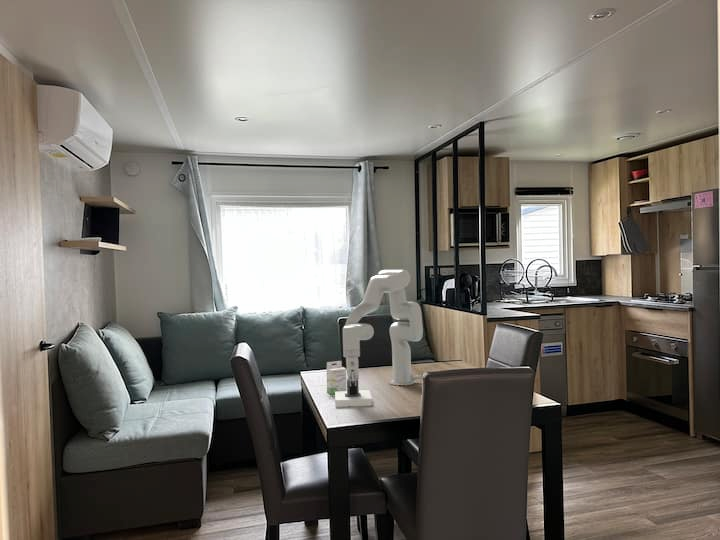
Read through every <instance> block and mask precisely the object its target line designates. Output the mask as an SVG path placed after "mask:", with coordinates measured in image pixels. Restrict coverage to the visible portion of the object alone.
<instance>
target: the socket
mask: <svg viewBox="0 0 720 540" xmlns="http://www.w3.org/2000/svg"><path fill="white" fill-rule="evenodd" d="M334 401H335V402H334V403H335V408H344V407H346V408H348V406H351V407H367V406H371V405H372V406H373V397H372V394H371V392H370V389H362V390H360V389H359V397H347V390H346V391H336V392H335V394H334ZM372 406H371V407H372Z"/></svg>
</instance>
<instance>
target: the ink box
mask: <svg viewBox="0 0 720 540" xmlns="http://www.w3.org/2000/svg"><path fill="white" fill-rule="evenodd" d="M342 363H343V362H342V360H336V361H327V362H326V393H327V394H330V395H333V394H334V395H335V392H336V391H347V367H344V366H342ZM333 364H334V365H333Z"/></svg>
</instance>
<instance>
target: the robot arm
mask: <svg viewBox="0 0 720 540" xmlns="http://www.w3.org/2000/svg"><path fill="white" fill-rule="evenodd" d="M410 282H411V274H410V273H409V271H408V270H406V269H383V270H380V271H379V272H378V273H377V275H374V276H372V277H370V279H369V282H368V284H367V287H366V290H365V291H364V295H363V298H362V300H361V302H360V303H359V304H358V305H356V307H354V308H353V309H352V310H351V311H350V312H349V314H348V316H347V318H346V321H345V323H344V326H343V327H342V348H343V349H342V353H343V354H342V357H344V358H345V362H346V364H345V365H346V376H347V379H349V380H350V386H349V391H350V395H357V386H356V378H357V379H358V380H359V379H360V377H359V376H360V373H359V372H360V371H359V357H361V345H360V342H361V341H368V340H371V339H372V338H373V336H374V334H375V331H374V330H375V329H374V327H373V326H372V325H371V324H370V323H361V322H359V321H360V320H361V319H362V318H363V317H365V316H367V315H369V314H371V313H374V312H375V311H378V309H379V308H380V306H381V302H382V299H383V297H384V294H385V293H387V294H388V297H389V308H390V316H391V317H392V318H393V319H394V320H397V322H393V323H392V324H391V325H390V327H389V336H390V341H391V356H392V379H391V380H390V381H389V383H390V385H392V386H393V385H394V386H399V385H401V387H402V386H403V385H404V386H411V385H415V383H416V382H415V380H421V378H422V377H421V375H417V374H415V375H413V373H412V361H411V360H412V357H411V356H412V354H411V352H412V351H411V346H410V344H409V342H420V341H421V340H422V338H423V335H424V334H423V333H424V328H423V327H424V326H423V315H422V310H421V309H422V307H421V306H420V304H419V303H418V302H416V301H410V300H409V301H408V300H407V297H406V296H407V295H406V290H405V288H406V287H407V286H408V285H409V284H410ZM398 320H399V321H398ZM407 321H409V322H407ZM350 376H351V377H350ZM350 378H352V379H350ZM354 378H355V379H354ZM351 380H352V381H351ZM354 380H355V381H354Z"/></svg>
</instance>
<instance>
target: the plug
mask: <svg viewBox="0 0 720 540" xmlns="http://www.w3.org/2000/svg"><path fill="white" fill-rule="evenodd" d="M350 377H351V376H350ZM350 379H352V378H350ZM354 379H355V378H354ZM351 381H352V380H351ZM354 381H355V380H354ZM349 386H350V380H349V379H348V378H346V391H347V397H359V390H360V389H359V379H357V378H356V386H357V395H350V391H349Z"/></svg>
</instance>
